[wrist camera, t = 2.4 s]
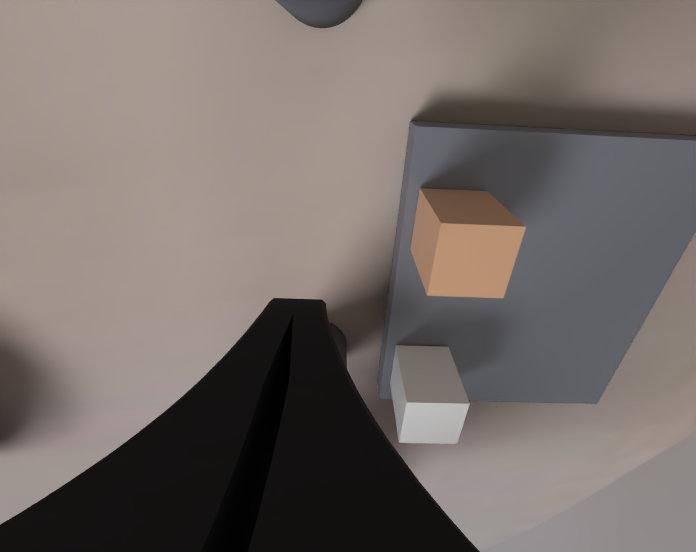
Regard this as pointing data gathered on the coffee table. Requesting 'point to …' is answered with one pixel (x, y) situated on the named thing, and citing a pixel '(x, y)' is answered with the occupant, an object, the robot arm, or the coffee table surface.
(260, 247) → the coffee table surface
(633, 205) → the flat gray rectangular panel
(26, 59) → the coffee table surface
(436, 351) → the plain white brick
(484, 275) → the tan wooden cube
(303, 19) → the post
